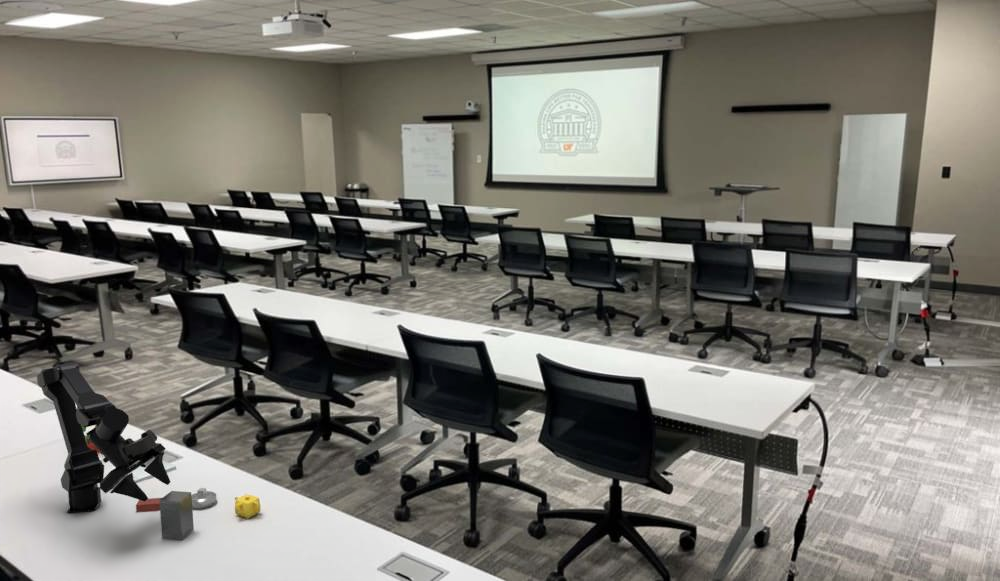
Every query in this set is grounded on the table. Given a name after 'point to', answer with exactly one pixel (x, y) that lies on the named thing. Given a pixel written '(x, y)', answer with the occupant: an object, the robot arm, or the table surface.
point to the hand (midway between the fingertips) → (158, 491)
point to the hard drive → (142, 475)
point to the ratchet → (199, 501)
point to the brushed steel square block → (176, 515)
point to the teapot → (247, 506)
